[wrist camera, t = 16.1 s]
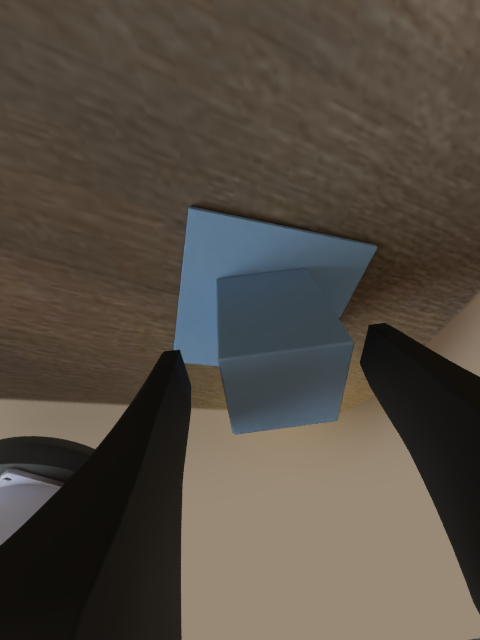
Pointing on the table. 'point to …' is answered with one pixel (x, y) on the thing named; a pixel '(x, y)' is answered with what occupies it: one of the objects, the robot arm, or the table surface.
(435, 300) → the table surface
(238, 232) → the blue pad
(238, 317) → the slate block
